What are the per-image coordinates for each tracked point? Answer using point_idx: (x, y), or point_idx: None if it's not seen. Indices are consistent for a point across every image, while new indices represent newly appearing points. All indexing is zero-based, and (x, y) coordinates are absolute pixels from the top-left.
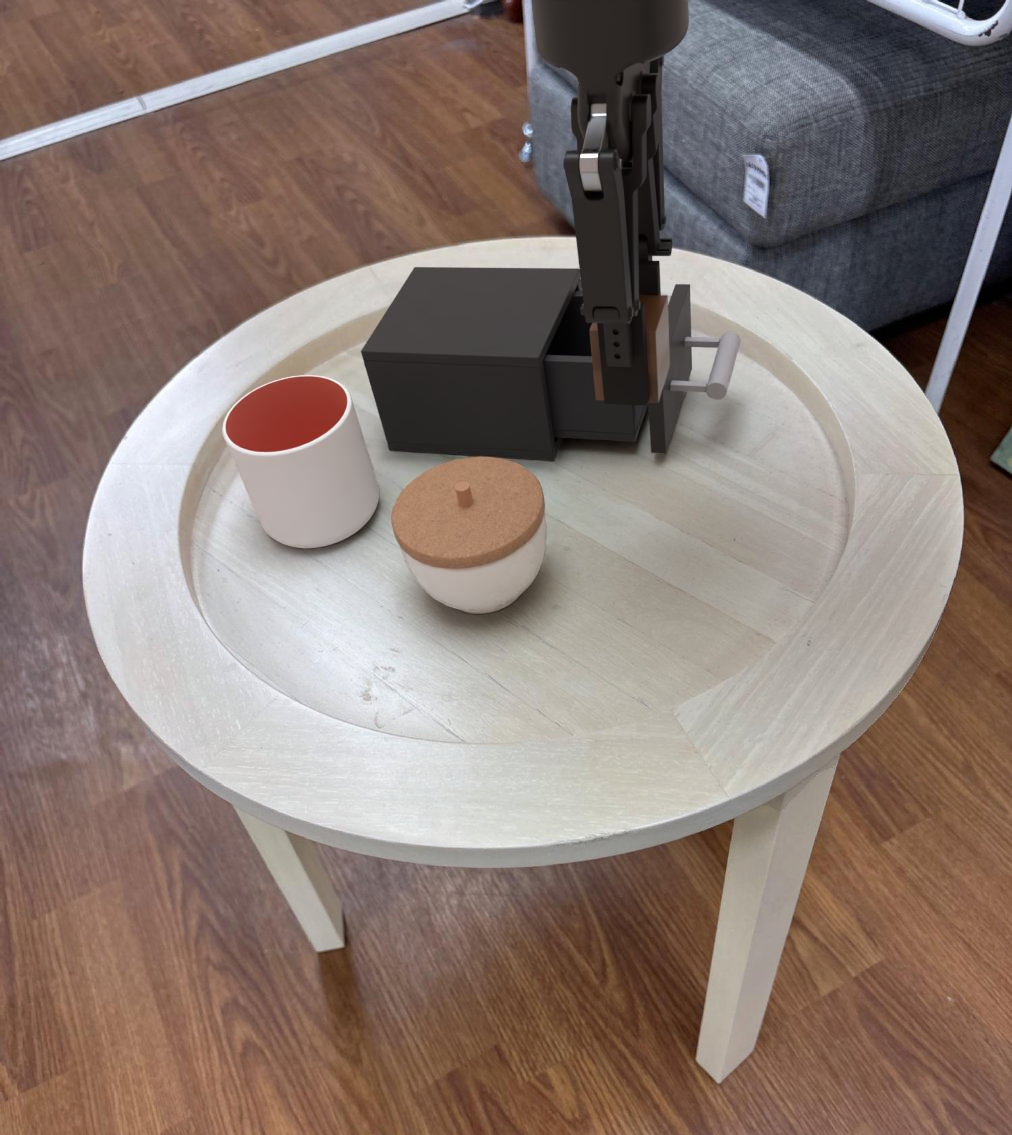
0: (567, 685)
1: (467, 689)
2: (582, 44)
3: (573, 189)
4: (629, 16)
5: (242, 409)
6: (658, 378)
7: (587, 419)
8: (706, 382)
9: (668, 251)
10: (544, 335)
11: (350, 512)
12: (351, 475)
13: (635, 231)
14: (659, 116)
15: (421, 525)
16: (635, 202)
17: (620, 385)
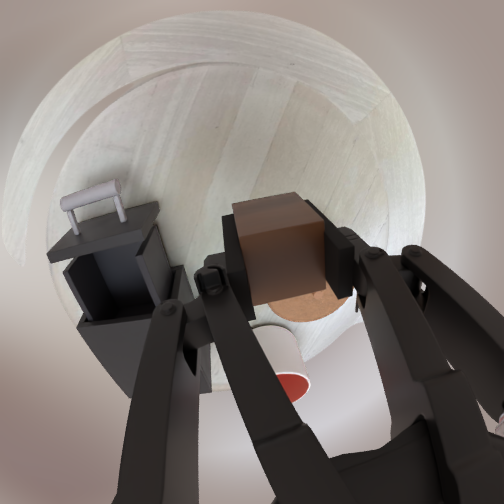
0: (352, 181)
1: (362, 227)
2: None
3: None
4: None
5: None
6: (298, 199)
7: (162, 260)
8: (113, 197)
9: (222, 269)
10: (150, 321)
11: (281, 334)
12: (278, 348)
13: (410, 320)
14: (148, 466)
15: (336, 298)
16: (426, 356)
17: None
